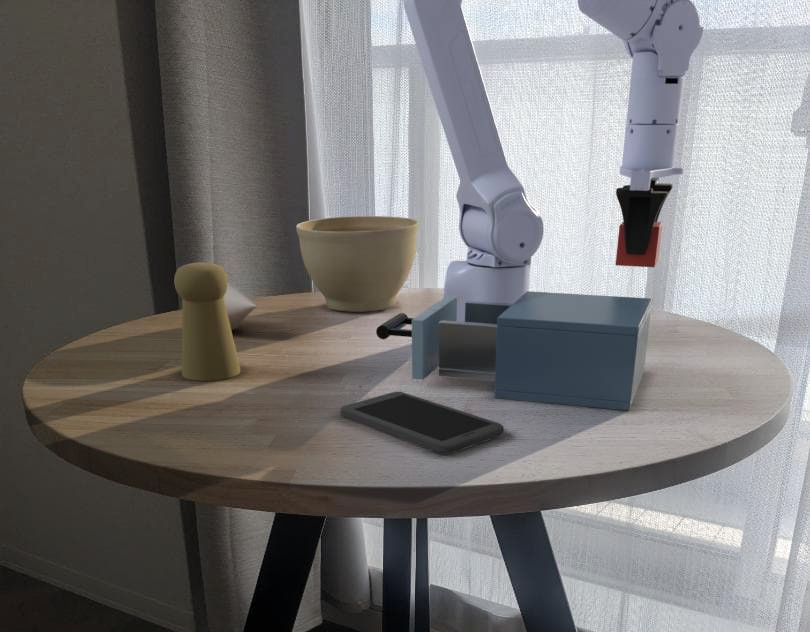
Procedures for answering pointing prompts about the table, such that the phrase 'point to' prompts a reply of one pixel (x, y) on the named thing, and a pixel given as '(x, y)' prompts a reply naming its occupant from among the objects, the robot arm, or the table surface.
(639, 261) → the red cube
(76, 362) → the table surface
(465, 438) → the cell phone
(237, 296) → the grey cone
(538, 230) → the robot arm
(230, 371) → the cork
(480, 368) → the drawer
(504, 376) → the cabinet
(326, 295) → the planter bowl
